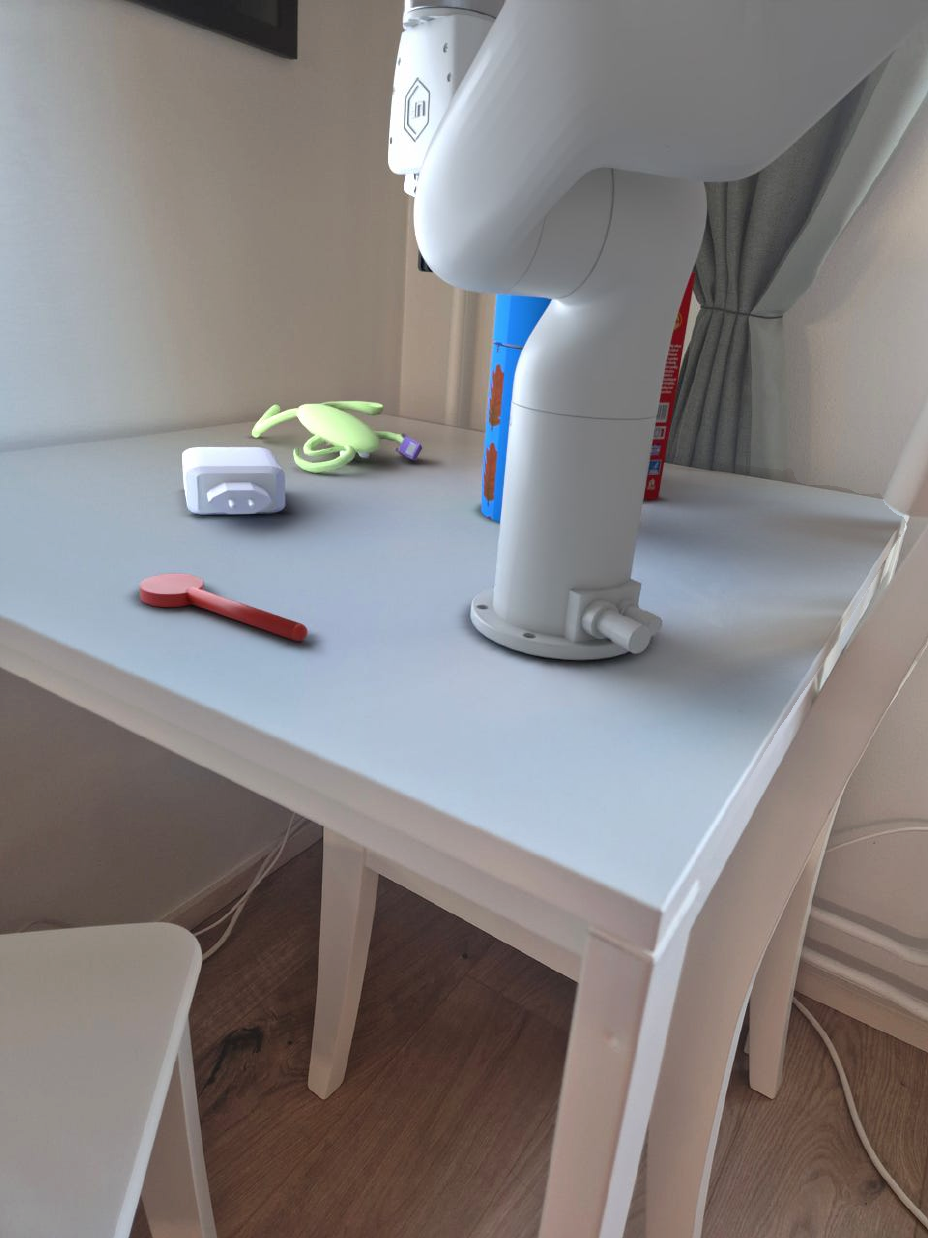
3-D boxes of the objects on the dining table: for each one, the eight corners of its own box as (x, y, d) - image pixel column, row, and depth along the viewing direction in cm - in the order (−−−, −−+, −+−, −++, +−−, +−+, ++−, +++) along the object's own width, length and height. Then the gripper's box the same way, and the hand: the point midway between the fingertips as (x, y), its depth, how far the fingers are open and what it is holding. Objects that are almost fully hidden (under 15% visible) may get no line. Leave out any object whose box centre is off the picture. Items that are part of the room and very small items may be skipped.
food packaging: (658, 498, 99) (695, 272, 90) (622, 501, 97) (656, 269, 87) (588, 470, 111) (615, 268, 102) (555, 471, 109) (579, 265, 99)
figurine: (367, 430, 126) (368, 393, 124) (445, 470, 105) (448, 425, 103) (245, 433, 118) (244, 392, 116) (303, 476, 96) (303, 427, 94)
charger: (190, 534, 74) (184, 492, 87) (295, 531, 77) (273, 490, 90) (187, 482, 72) (181, 446, 85) (294, 481, 75) (273, 447, 88)
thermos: (576, 534, 83) (611, 261, 73) (471, 521, 84) (491, 253, 75) (583, 508, 93) (615, 264, 83) (489, 496, 94) (509, 256, 85)
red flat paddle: (326, 632, 56) (327, 616, 56) (282, 654, 53) (281, 636, 52) (176, 581, 63) (175, 566, 63) (127, 596, 60) (125, 581, 59)
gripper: (363, 15, 66) (357, 266, 73) (467, -28, 55) (449, 273, 62) (442, 36, 70) (430, 271, 77) (555, -1, 59) (529, 279, 66)
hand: (438, 272), depth 69 cm, fingers closed
